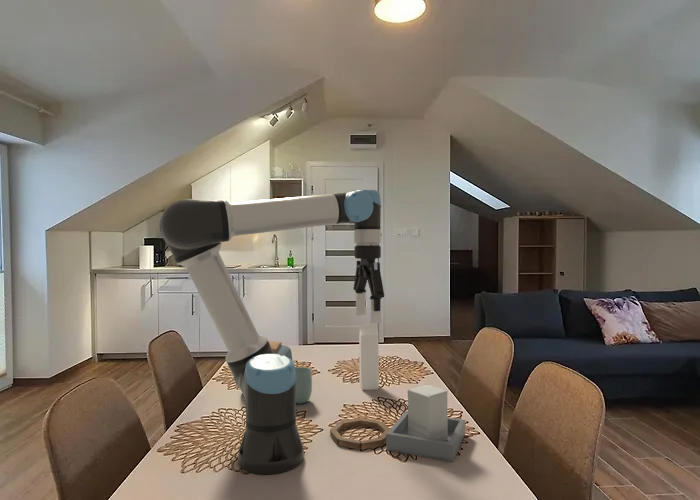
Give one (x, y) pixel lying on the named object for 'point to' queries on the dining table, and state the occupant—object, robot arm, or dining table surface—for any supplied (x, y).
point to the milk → (369, 357)
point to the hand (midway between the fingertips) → (367, 318)
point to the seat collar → (356, 443)
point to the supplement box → (428, 413)
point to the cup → (303, 384)
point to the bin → (426, 440)
